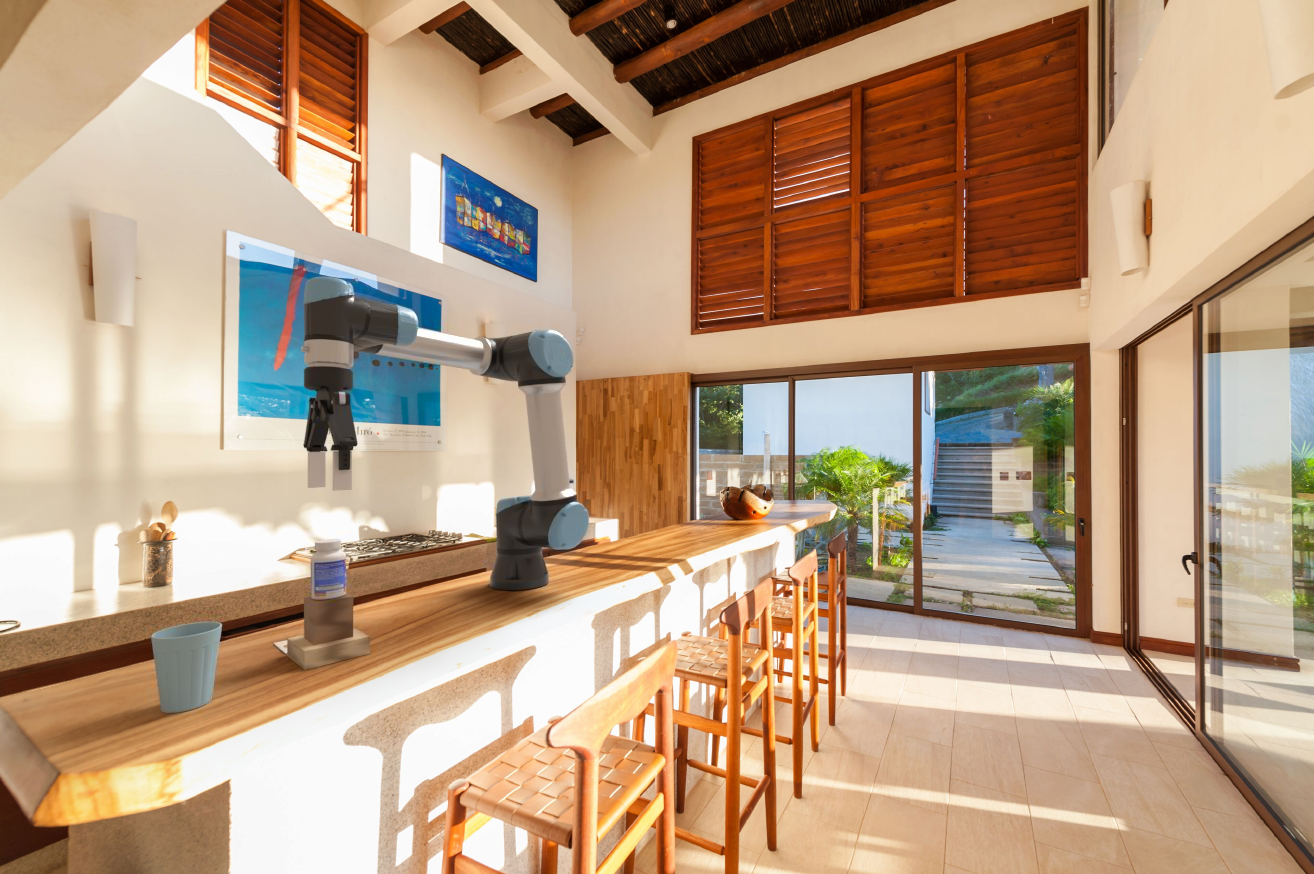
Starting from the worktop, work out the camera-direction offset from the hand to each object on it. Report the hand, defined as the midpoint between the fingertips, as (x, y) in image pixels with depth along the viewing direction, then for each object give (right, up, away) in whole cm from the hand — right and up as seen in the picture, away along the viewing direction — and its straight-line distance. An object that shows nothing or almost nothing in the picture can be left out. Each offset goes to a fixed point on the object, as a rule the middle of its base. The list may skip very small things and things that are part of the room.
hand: (328, 488), depth 100 cm
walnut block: (0, -26, -1) cm, 26 cm away
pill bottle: (0, -19, -1) cm, 19 cm away
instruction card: (-7, -29, +6) cm, 30 cm away
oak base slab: (0, -29, -1) cm, 29 cm away
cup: (-8, -29, -20) cm, 36 cm away
